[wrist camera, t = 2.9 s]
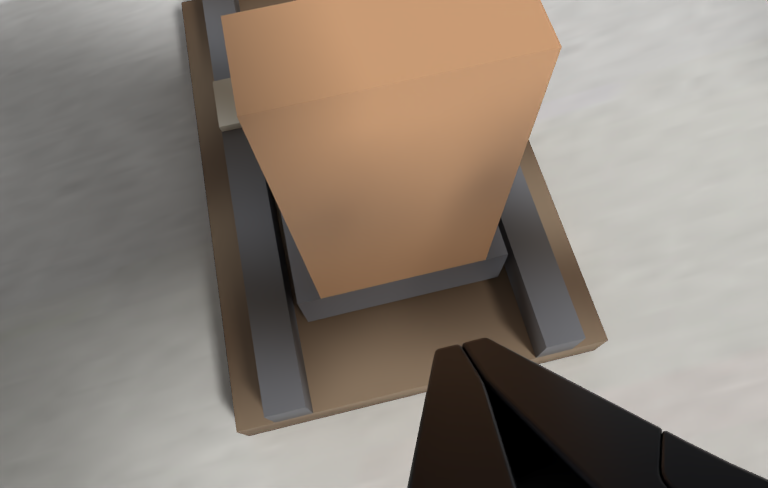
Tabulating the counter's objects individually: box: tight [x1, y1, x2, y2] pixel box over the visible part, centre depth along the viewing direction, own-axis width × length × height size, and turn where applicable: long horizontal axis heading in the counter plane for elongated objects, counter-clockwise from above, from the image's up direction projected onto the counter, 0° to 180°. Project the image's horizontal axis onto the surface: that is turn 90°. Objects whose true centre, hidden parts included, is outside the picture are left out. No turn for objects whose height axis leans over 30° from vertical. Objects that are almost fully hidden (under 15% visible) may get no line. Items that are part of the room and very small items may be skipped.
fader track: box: [182, 0, 608, 436], centre depth 21 cm, size 18×12×3 cm, turn 13°
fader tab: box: [221, 0, 561, 322], centre depth 15 cm, size 6×6×11 cm
